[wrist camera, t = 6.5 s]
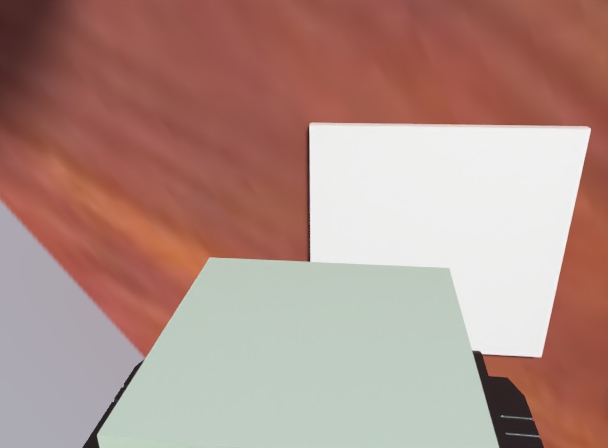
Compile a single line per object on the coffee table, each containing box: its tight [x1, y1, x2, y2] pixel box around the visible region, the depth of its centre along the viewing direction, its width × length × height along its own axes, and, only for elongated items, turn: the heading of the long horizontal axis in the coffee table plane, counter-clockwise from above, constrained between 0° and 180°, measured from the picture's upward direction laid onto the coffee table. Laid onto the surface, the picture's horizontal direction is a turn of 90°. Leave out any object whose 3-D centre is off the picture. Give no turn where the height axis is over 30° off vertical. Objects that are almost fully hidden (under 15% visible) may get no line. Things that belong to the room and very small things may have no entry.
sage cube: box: [97, 258, 499, 448], centre depth 10 cm, size 5×5×5 cm
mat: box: [309, 123, 591, 357], centre depth 28 cm, size 13×13×1 cm
